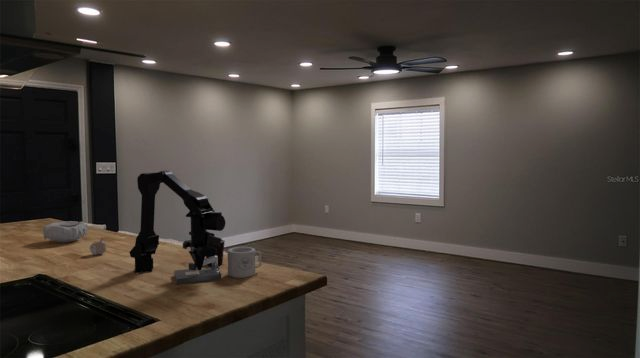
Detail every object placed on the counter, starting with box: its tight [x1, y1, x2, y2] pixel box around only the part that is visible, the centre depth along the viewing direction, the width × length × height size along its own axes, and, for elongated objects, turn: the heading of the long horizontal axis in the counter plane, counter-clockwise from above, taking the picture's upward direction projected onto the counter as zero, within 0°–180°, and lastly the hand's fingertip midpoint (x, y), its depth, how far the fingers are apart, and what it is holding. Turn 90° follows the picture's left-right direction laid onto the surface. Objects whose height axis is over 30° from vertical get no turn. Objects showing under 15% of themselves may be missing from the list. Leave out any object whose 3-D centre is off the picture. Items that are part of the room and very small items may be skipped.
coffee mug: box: [205, 239, 226, 267], centre depth 189 cm, size 12×9×10 cm
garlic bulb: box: [89, 238, 107, 256], centre depth 205 cm, size 7×6×8 cm
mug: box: [226, 246, 262, 279], centre depth 174 cm, size 14×11×10 cm
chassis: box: [173, 266, 222, 285], centre depth 169 cm, size 16×12×2 cm
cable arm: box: [188, 255, 219, 270], centre depth 174 cm, size 16×3×5 cm, turn 157°
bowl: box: [42, 220, 88, 243], centre depth 233 cm, size 21×20×10 cm
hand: (199, 270), depth 167 cm, fingers closed
